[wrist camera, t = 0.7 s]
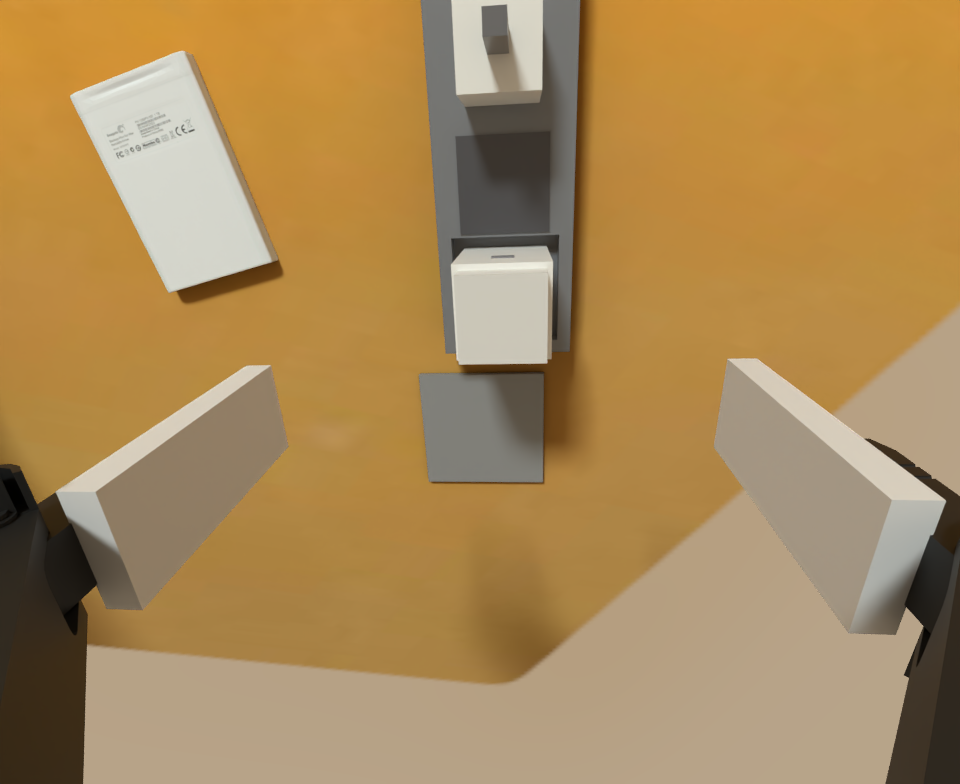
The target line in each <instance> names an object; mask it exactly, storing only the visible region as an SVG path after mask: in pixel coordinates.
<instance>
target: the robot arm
mask: <svg viewBox="0 0 960 784" xmlns="http://www.w3.org/2000/svg"><path fill="white" fill-rule="evenodd" d="M287 448H288V442H287V438H286V433H285V428H284V424H283V419H282V415H281V410H280V405H279V401H278V396H277V391H276V387H275V382H274V378H273V373H272V368H271V365H265V366H245V367H244V368H242V369H241V370H239V371H238V372H236V373H235V374H233V375H232V376H230V377H229V378H227V379H226V380H224V381H223V382H221V383H220V384H218V385H216V386H215V387H213V388H212V389H210V390H209V391H207V392H206V393H204V394H203V395H201V396H200V397H198V398H197V399H195V400H194V401H192V402H191V403H189V404H188V405H186V406H185V407H183V408H182V409H180V410H179V411H177V412H175V413H174V414H172V415H171V416H169V417H168V418H166V419H165V420H163V421H162V422H160V423H159V424H157V425H156V426H154V427H153V428H151V429H150V430H148V431H147V432H145V433H144V434H142V435H141V436H139V437H138V438H136V439H135V440H133V441H131V442H130V443H128V444H127V445H125V446H124V447H122V448H121V449H119V450H118V451H116V452H115V453H113V454H112V455H110V456H109V457H107V458H106V459H104V460H103V461H101V462H100V463H98V464H97V465H95V466H94V467H92V468H90V469H89V470H87V471H86V472H84V473H83V474H81V475H80V476H78V477H77V478H75V479H74V480H72V481H71V482H69V483H68V484H66V485H65V486H63V487H62V488H60V489H59V490H57V491H56V493H54V494H52V495H51V496H49V497H48V498H46V499H45V500H43V501H42V502H40V503H39V504H37V503H36V501H35V499H34V497H33V495H32V492H31V490H30V488H29V486H28V484H27V481H26V479H25V477H24V475H23V473H22V471H21V468H20V466H17V465H12V464H4V465H0V784H83V766H84V728H85V692H86V655H87V652H86V651H87V618H88V615H87V612H86V610H85V608H84V605H83V603H82V601H81V599H82V598H83V597H84V596H85V595H86V594H88V593H89V592H90V591H91V590H92V589H93V588H94V587H95V586H97V588H98V590H99V592H100V595H101V597H102V599H103V602H104V604H105V606H106V608H107V609H128V610H143V609H144V608H145V607H146V606H147V605H148V603H149V602H150V601H151V600H152V599H153V598H154V597H155V596H156V594H157V593H158V592H159V591H160V590H161V589H162V588H163V587H164V585H165V584H166V583H167V582H168V581H169V580H170V579H171V578H172V577H173V575H174V574H175V573H176V572H177V571H178V570H179V569H180V568H181V566H182V565H183V564H184V563H185V562H186V561H187V560H188V559H189V557H190V556H191V555H192V554H193V553H194V552H195V551H196V550H197V549H198V547H199V546H200V545H201V544H202V543H203V542H204V541H205V540H206V538H207V537H208V536H209V535H210V534H211V533H212V532H213V531H214V529H215V528H216V527H217V526H218V525H219V524H220V523H221V522H222V520H223V519H224V518H225V517H226V516H227V515H228V514H229V513H230V512H231V510H232V509H233V508H234V507H235V506H236V505H237V504H238V503H239V501H240V500H241V499H242V498H243V497H244V496H245V495H246V494H247V492H248V491H249V490H250V489H251V488H252V487H253V486H254V485H255V483H256V482H257V481H258V480H259V479H260V478H261V477H262V476H263V475H264V473H265V472H266V471H267V470H268V469H269V468H270V467H271V466H272V464H273V463H274V462H275V461H276V460H277V459H278V458H279V457H280V455H281V454H282V453H283V452H284V451H285V450H286V449H287ZM714 448H715V449H716V451H717V452H718V454H719V455H720V456H721V458H722V459H723V460H724V462H725V463H726V465H727V466H728V467H729V469H730V470H731V471H732V473H733V474H734V476H735V477H736V478H737V480H738V481H739V483H740V484H741V485H742V487H743V488H744V489H745V491H746V492H747V494H748V495H749V496H750V498H751V499H752V501H753V502H754V503H755V504H756V506H757V507H758V509H759V510H760V512H761V513H762V514H763V516H764V517H765V518H766V520H767V521H768V523H769V524H770V525H771V527H772V528H773V530H774V531H775V532H776V534H777V535H778V536H779V538H780V539H781V541H782V542H783V543H784V545H785V546H786V548H787V549H788V550H789V552H790V553H791V554H792V556H793V557H794V559H795V560H796V561H797V563H798V564H799V565H800V567H801V568H802V570H803V571H804V572H805V574H806V575H807V576H808V578H809V579H810V581H811V582H812V583H813V585H814V586H815V587H816V589H817V590H818V592H819V593H820V595H821V596H822V597H823V599H824V600H825V601H826V603H827V604H828V606H829V607H830V608H831V610H832V611H833V612H834V613H835V615H836V617H837V618H838V619H839V620H840V622H841V624H842V625H843V626H844V628H845V629H846V630H847V632H848V633H859V634H888V635H896V632H897V630H898V627H899V624H900V622H901V619H902V617H903V614H904V611H905V608H906V607H907V608H908V609H909V610H910V612H912V614H913V615H914V616H915V617H916V618H917V619H918V620H919V621H920V623H921V624H922V625H923V626H924V627H923V629H922V632H921V634H920V637H919V639H918V642H917V644H916V646H915V649H914V652H913V654H912V656H911V659H910V662H909V664H908V666H907V669H906V671H905V674H904V675H905V676H907V677H909V681H908V685H907V690H906V695H905V699H904V703H903V708H902V713H901V717H900V722H899V726H898V730H897V735H896V739H895V744H894V748H893V753H892V757H891V762H890V766H889V770H888V776H887V780H886V784H960V496H958V495H957V494H956V493H954V492H953V491H952V490H950V489H949V488H948V487H946V486H945V485H943V484H942V483H941V482H939V481H938V480H936V479H932V478H931V475H929V474H928V473H927V472H925V471H924V470H922V469H921V468H920V467H915V464H914V463H913V462H911V461H910V460H908V459H907V458H906V457H904V456H903V455H902V454H900V453H899V452H897V451H896V450H893V449H891V448H889V447H887V446H885V445H882V444H880V443H878V442H876V441H873V440H871V439H863V438H862V437H861V436H859V435H858V434H856V433H855V432H854V431H853V430H851V429H850V428H849V427H847V426H846V425H845V424H843V423H842V422H841V421H839V420H838V419H837V418H835V417H834V416H833V415H831V414H830V413H829V412H827V411H826V410H825V409H823V408H822V407H821V406H819V405H818V404H817V403H815V402H814V401H813V400H811V399H810V398H809V397H807V396H806V395H805V394H803V393H802V392H801V391H799V390H798V389H797V388H795V387H794V386H793V385H791V384H790V383H789V382H787V381H786V380H785V379H783V378H782V377H781V376H779V375H778V374H777V373H775V372H774V371H773V370H771V369H770V368H769V367H767V366H766V365H765V364H763V363H762V362H761V361H759V360H758V359H728V360H727V366H726V372H725V379H724V385H723V392H722V398H721V404H720V411H719V417H718V424H717V430H716V436H715V443H714Z"/></svg>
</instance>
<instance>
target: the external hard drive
mask: <svg viewBox="0 0 960 784" xmlns="http://www.w3.org/2000/svg"><path fill="white" fill-rule="evenodd" d="M70 98H71V100H72V102H73V104H74V106H75V108H76V110H77V112H78V114H79V116H80V118H81V119H82V122H83V124H84V126H85V128H86V130H87V132H88V134H89V136H90V138H91V140H92V142H93V144H94V146H95V148H96V150H97V152H98V154H99V156H100V158H101V160H102V162H103V164H104V166H105V168H106V170H107V172H108V174H109V176H110V178H111V180H112V182H113V184H114V186H115V188H116V189H117V191H118V193H119V196H120V198H121V199H122V201H123V203H124V205H125V207H126V209H127V211H128V213H129V215H130V217H131V219H132V221H133V223H134V225H135V227H136V229H137V231H138V233H139V235H140V237H141V239H142V241H143V243H144V245H145V247H146V249H147V251H148V253H149V255H150V257H151V259H152V261H153V263H154V265H155V267H156V269H157V271H158V273H159V275H160V277H161V279H162V281H163V282H164V285H165V287H166V289H167V291H168V292H169V293H171V292H175V291H178V290H181V289H184V288H188V287H191V286H194V285H198V284H201V283H204V282H208V281H211V280H214V279H218V278H221V277H224V276H227V275H231V274H234V273H237V272H241V271H244V270H247V269H251V268H254V267H257V266H261V265H264V264H267V263H271V262H274V261H277V260H278V256H277V254H276V252H275V249H274V247H273V245H272V242H271V240H270V237H269V235H268V233H267V230H266V228H265V226H264V223H263V221H262V219H261V216H260V214H259V211H258V209H257V207H256V204H255V202H254V200H253V197H252V195H251V192H250V190H249V188H248V185H247V183H246V180H245V178H244V176H243V173H242V171H241V168H240V166H239V164H238V161H237V159H236V157H235V154H234V152H233V150H232V147H231V145H230V142H229V140H228V138H227V135H226V133H225V130H224V128H223V126H222V123H221V121H220V118H219V116H218V114H217V111H216V109H215V107H214V104H213V102H212V99H211V97H210V95H209V92H208V90H207V87H206V85H205V83H204V81H203V78H202V76H201V73H200V70H199V68H198V66H197V63H196V61H195V59H194V56H193V55H192V54H190V53H188V52H185V51H180V52H176V53H173V54H171V55H168V56H166V57H163V58H161V59H158V60H156V61H154V62H151V63H149V64H146V65H144V66H141V67H139V68H136V69H134V70H131V71H129V72H126V73H123V74H121V75H118V76H116V77H113V78H111V79H108V80H106V81H104V82H101V83H98V84H96V85H93V86H91V87H88V88H86V89H83V90H81V91H78V92H75V93H73V94H72V95H71V96H70Z"/></svg>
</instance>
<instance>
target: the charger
mask: <svg viewBox="0 0 960 784" xmlns="http://www.w3.org/2000/svg"><path fill="white" fill-rule="evenodd" d="M451 276H452V292H453V308H454V324H455V340H456V356H457V361H459V365H465V364H540V363H547V359H552V296H553V260H552V258H551V255H550V253H549V251H548V248H547V246H546V245H531V246H501V247H471V248H465V249H464V250H463V251H462V252H461V253H460V254H459V256H458V257H457V258H456V259H455V260H454V261H453V263H452V264H451Z"/></svg>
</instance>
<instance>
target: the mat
mask: <svg viewBox="0 0 960 784" xmlns="http://www.w3.org/2000/svg"><path fill="white" fill-rule="evenodd" d="M419 382H420V392H421V403H422V414H423V424H424V435H425V445H426V456H427V467H428V477H429V481H435V482H543V422H544V372H513V373H429V374H419Z"/></svg>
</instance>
